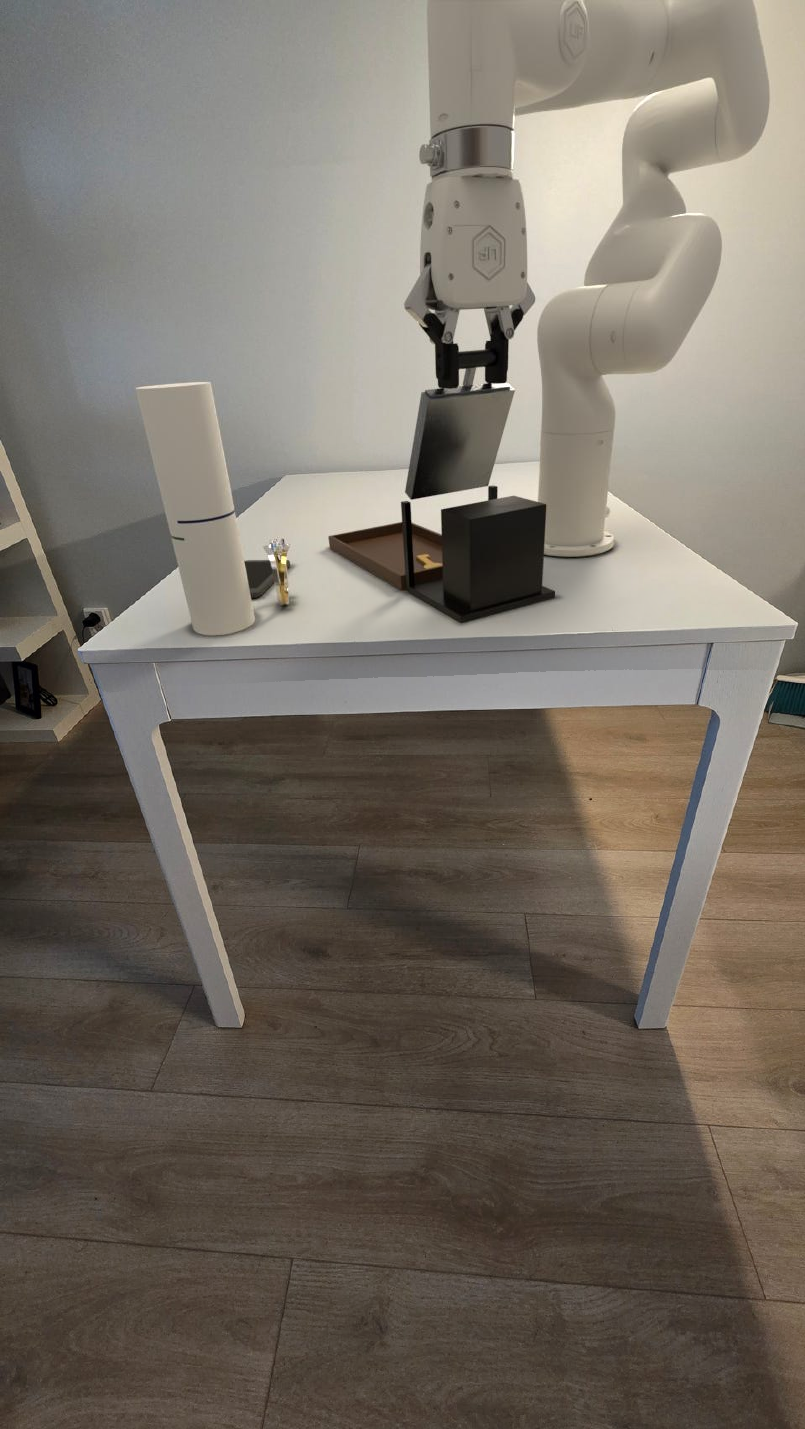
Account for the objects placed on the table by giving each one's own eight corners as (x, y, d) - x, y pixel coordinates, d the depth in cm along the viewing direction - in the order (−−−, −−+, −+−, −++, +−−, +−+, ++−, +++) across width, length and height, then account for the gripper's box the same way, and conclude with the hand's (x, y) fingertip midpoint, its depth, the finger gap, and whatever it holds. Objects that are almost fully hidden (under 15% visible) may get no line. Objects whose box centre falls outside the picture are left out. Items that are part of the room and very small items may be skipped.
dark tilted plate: (410, 500, 76) (402, 489, 77) (488, 486, 80) (479, 476, 81) (435, 361, 63) (424, 351, 64) (525, 354, 67) (514, 344, 69)
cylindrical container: (239, 636, 72) (189, 386, 59) (181, 634, 73) (120, 390, 61) (264, 612, 78) (223, 380, 65) (210, 611, 79) (159, 384, 67)
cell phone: (205, 598, 83) (204, 592, 83) (244, 564, 95) (243, 559, 94) (259, 598, 82) (258, 592, 81) (292, 564, 94) (291, 559, 93)
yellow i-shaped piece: (428, 570, 85) (428, 573, 86) (447, 567, 86) (447, 570, 86) (410, 556, 91) (410, 559, 91) (428, 553, 92) (428, 556, 92)
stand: (405, 590, 81) (400, 501, 76) (492, 570, 86) (493, 485, 81) (461, 623, 71) (459, 523, 66) (555, 597, 76) (561, 502, 71)
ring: (295, 613, 77) (285, 547, 73) (268, 615, 77) (257, 549, 73) (301, 593, 83) (291, 531, 79) (276, 595, 83) (265, 533, 79)
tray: (329, 548, 100) (328, 536, 99) (408, 532, 105) (407, 520, 104) (401, 590, 82) (400, 576, 81) (492, 568, 87) (492, 554, 86)
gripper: (409, 148, 53) (419, 394, 62) (572, 158, 59) (559, 379, 68) (370, 170, 59) (384, 391, 68) (522, 177, 65) (516, 378, 74)
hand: (472, 383), depth 68 cm, fingers closed on dark tilted plate, 5 cm apart
